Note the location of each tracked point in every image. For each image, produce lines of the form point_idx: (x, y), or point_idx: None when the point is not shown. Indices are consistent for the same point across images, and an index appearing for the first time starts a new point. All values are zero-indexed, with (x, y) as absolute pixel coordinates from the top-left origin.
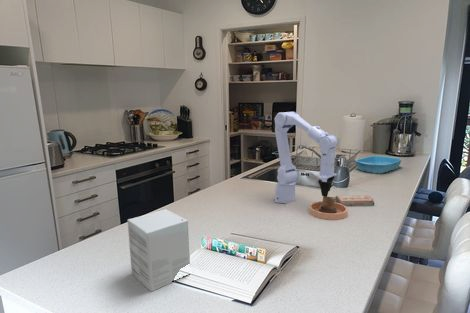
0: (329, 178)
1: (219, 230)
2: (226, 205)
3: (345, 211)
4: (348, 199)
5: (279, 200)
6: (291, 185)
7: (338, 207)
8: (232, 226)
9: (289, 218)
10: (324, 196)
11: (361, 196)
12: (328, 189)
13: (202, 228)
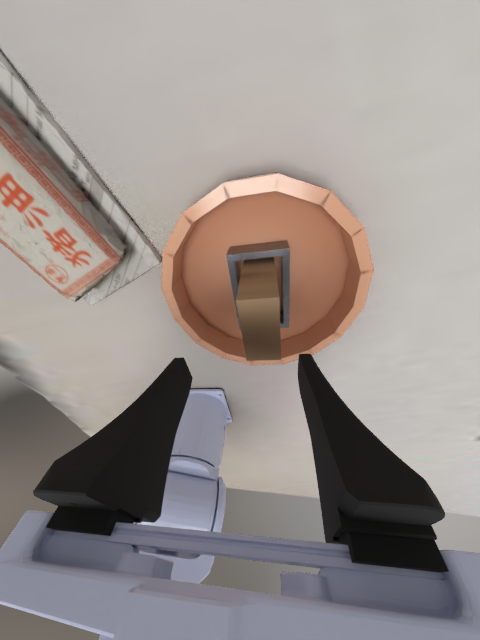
0: (136, 473)
1: (458, 453)
2: (301, 465)
3: (293, 183)
4: (57, 222)
5: (224, 418)
6: (202, 462)
7: (179, 253)
8: (431, 444)
9: (348, 375)
10: (250, 356)
11: None
12: (343, 403)
13: (445, 468)
